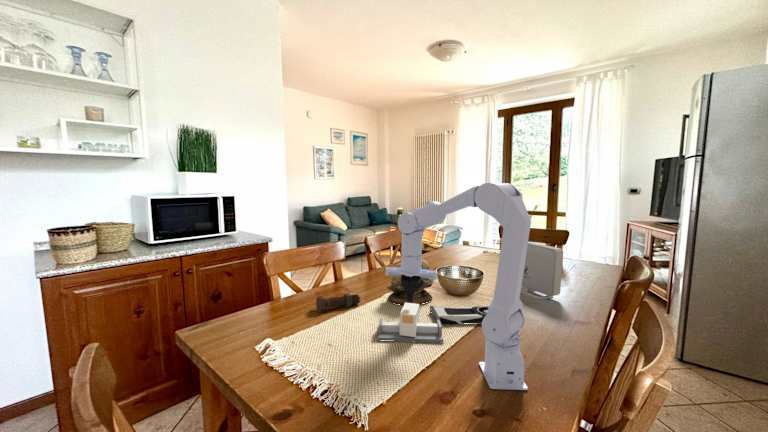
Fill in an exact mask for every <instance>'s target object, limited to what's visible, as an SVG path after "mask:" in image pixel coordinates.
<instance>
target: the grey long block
mask: <svg viewBox="0 0 768 432" xmlns="http://www.w3.org/2000/svg"><path fill="white" fill-rule="evenodd" d="M377 334H378V335H377V341H378V340H394V341H415V342H414V343H424V342H443V343H444V337H443V325H441V322H440V320H437V322H436V323H435V322H434V323H433V322H428V323H427V322H419V323H418V325H417V328H416V336H415V337H411V336H403V335H400V321H399V322H397V321H383V318H382V317H381V318H379V320H378V332H377Z"/></svg>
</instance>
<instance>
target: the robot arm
mask: <svg viewBox="0 0 768 432" xmlns="http://www.w3.org/2000/svg"><path fill="white" fill-rule="evenodd" d="M425 203H426V205H425V204H424V205H423V206H421V207H416V208H415V207H414V208H413V209H412V210H413V211H412V212H407V211H405V212H403V213H401V215H400V216H398V219H397V227H398V229H399V231H400V232H401V251H400V252H401V254H400V255H401V257H400V258H401V260H400V263H401V267H395V266H391V267H390V266H387V267H386V268H385V274H384V275H385V276H392V275H396V276H401V283H402V285H403V287H404V289H405V292H406V296H407V302H410V303H412V302H413V299H414V294H415V290H416V287H417V285H418V283H419V281H420V279H421V278H429V279H430V278H431V279H434V280H435V281H436V280H438V279H437V278H438V271H437V270H431V269H429V270H426V269H421V264H422V260H423V259H422V258H423V257H422V256H423V254H422V252H423V249H422V248H423V237H424V233H425V230H426V229H428V228H430V227H433V226H435V225H438V224H441V223H443V222H444V221H445V220H446V217H447V215H450V214H453V213H455V212H458V211H460V210H463V209H466V208H469V207H472V208H477V209H480V211H482V212H483V213H486V214H487V215H488V216H490V217H492V218H493V219H495V221H496V222H497V223H498V224H499V225H500V226H501V227H502V229H503V230H502V236H501V243H500V250H499V259H498V267H497V273H496V281H495V286H494V287H495V289H494V295H493V298H492V299H491V301H490V304H489V305H488V306H489V307H488V312H487V315H486V316H485V317H484V319H483V321H482V324H481V331H482V332H483V334H484V336H485V347H484V348H485V350H484V361H479V362H478V366H479V367H480V370H481V372H482V374H483V376H484V378H485V380H486V382H487V384H488V387H489V388H490V389H492V390H508V391H509V390H510V391H511V390H512V391H517V390H518V391H528V389H529V387H528V385H527V384H526V383H525V371H526V370H525V368H526V361H525V358H524V357H523V354H522V353H521V349H520V345H521V337H520V330H521V329H522V328H523V327H524V326H525V323H526V320H525V315H524V312H523V306H524V303H523V302H522V300H521V299H520V298H521V293H522V292H521V289H522V286H521V285H522V279H523V272H524V266H525V259H526V252H527V246H528V242H529V238H530V233H531V232H530V231H531V226H532V225H531V224H532V220H531V216H530V215H529V211H528V210H527V208H526V205H525V203H524V200H523V193H522V192H521V191H520V190H519V189H518V188H517V187H515V185H513V184H512V183H508V182H501V183H494V182H484V183H483V184H480V185H476V186H473V187H470V188H468V189H466V190H465V191H463V192H461V193H459V194H457V195H454V196H453V197H451V198H449V199H447V200H445V201H443V202H442V203H441V202H439V201H435V200H429V201H426V202H425Z"/></svg>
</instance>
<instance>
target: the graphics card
mask: <svg viewBox="0 0 768 432" xmlns="http://www.w3.org/2000/svg"><path fill="white" fill-rule="evenodd" d="M488 307H489V305H487V306H485V305H484V306H445V305H429V313H430V312H432V313H433V314H432V313H431V314H432V315H434V316H433V317H434V319H435V318H436V319H435V321H437V320H440V322H441V324H464V323H477V324H478V325H482V321H483V319H484V317H485V316H486V315H487V312H488Z"/></svg>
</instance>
